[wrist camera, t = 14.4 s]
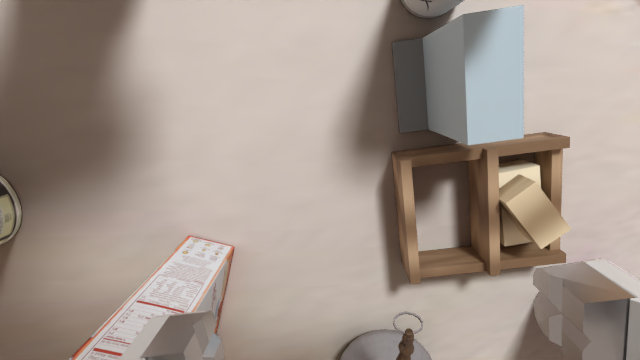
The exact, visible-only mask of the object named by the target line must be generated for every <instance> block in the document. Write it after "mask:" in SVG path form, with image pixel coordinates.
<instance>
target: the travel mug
mask: <svg viewBox="0 0 640 360" xmlns="http://www.w3.org/2000/svg"><path fill="white" fill-rule="evenodd" d="M463 1H464V0H401V2H402V4H403V5H404V7H405V8H406V9H407V10H408V11H409V12H410V13H412V14H413V15H415V16H417V17H421V18H435V17H438V16H441V15H443V14H444V13H446V12H448V11H449V10H451V9H452V8H454V7H455V6H457V5H458V4H460V3H461V2H463Z"/></svg>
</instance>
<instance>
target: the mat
mask: <svg viewBox="0 0 640 360" xmlns="http://www.w3.org/2000/svg"><path fill="white" fill-rule="evenodd" d="M392 51H393V62H394V74H395V86H396V98H397V110H398V122H399V133H405V132H413V131H420V130H428V113H427V98H426V83H425V67H424V52H423V38H418V39H412V40H405V41H398V42H393V43H392Z"/></svg>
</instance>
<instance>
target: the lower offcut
mask: <svg viewBox="0 0 640 360" xmlns="http://www.w3.org/2000/svg"><path fill="white" fill-rule="evenodd" d="M518 174H520V175H522V176H524V177H526V178H529V179H531V180H533V181H535V182H536V183H537V184H538V185H539V187H540V188H541V179H540V166H539V165H537V164H534V163H531V162H528V161H526V160H523V159H521V160H515V161H510V162H505V163H500V164H499V188H500V187H502V186H503V185H505V184H506V183H507V182H509V181H510V180H511V179H513V178H514V177H515V176H517V175H518ZM499 219H500V243H501V244H502V245H504V246H505V247H506V246H512V245H517V244H523V243H529V242H531V241H530V240H529V239H527V238H526V237H525V236H524V235H523V234H522V233H521V231H520V230H519V229H518V227H517V226H516V225H515V224H514V222H513V221H512V220H511V218H510V217H509V216H508V215H507V213H506V212H505V211H504V210H503V208H502V207H501V206H500V204H499Z"/></svg>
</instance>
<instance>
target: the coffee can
mask: <svg viewBox="0 0 640 360" xmlns="http://www.w3.org/2000/svg"><path fill="white" fill-rule="evenodd" d="M21 217H22V212H21V205H20V202H19V199H18V197H17V195H16V193H15V191H14V190H13V188H12V187H11V185H10V184H9V183H8V182H7V181H6V180H5V179H4V178H3V177H2V176H1V175H0V244H3V243H5V242H7V241H9V240H10V239H11V238H12V237H13V236H14V235H15V234H16V233H17V231H18V229H19V227H20V225H21Z"/></svg>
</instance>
